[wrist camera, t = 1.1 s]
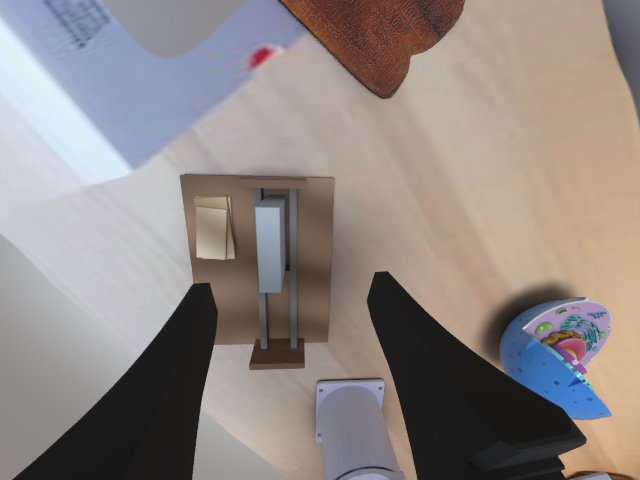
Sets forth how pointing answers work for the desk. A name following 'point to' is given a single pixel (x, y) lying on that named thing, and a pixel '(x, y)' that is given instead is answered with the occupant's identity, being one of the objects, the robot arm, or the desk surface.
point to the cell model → (558, 352)
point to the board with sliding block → (242, 272)
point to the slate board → (271, 242)
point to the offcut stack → (214, 227)
